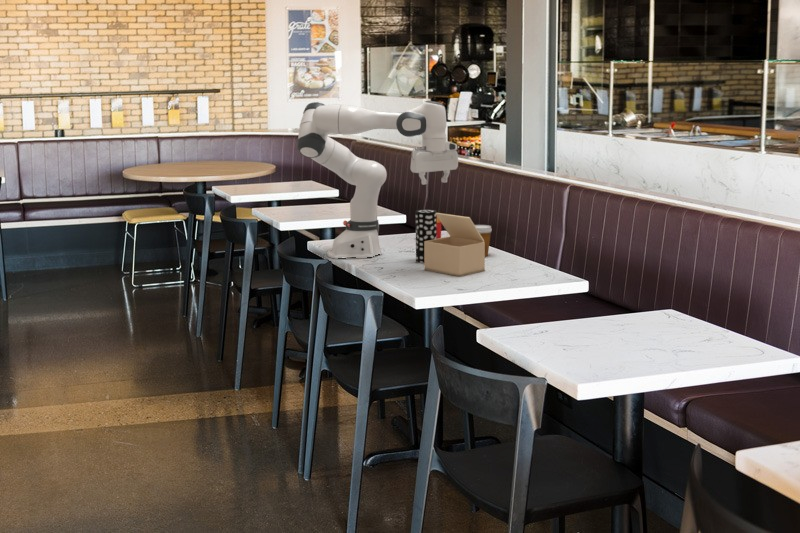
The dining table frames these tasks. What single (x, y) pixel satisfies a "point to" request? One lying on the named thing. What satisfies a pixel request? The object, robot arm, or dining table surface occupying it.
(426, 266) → the carton
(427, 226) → the white-spotted black cylinder
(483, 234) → the disposable coffee cup
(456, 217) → the carton flap
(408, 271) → the dining table surface
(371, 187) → the robot arm
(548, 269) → the dining table surface
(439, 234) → the french fries
